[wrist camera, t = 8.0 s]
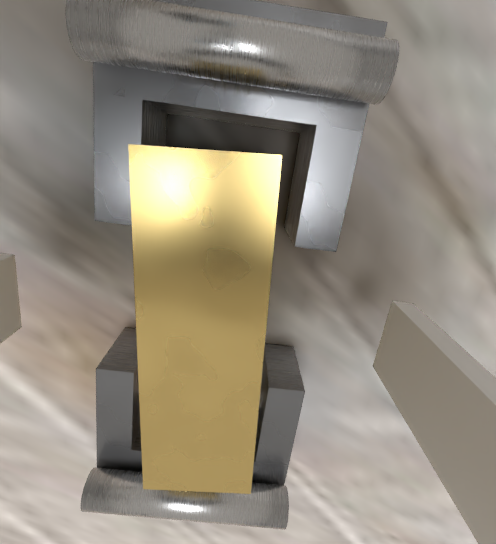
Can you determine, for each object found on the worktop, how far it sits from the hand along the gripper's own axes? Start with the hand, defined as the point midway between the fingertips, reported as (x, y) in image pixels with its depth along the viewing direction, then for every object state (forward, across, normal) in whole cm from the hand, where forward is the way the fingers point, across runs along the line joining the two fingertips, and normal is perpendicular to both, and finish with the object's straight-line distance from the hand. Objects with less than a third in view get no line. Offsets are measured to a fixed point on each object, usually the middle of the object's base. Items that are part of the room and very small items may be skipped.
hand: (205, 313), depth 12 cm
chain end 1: (+4, 0, +6) cm, 7 cm away
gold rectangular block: (+4, 0, -1) cm, 4 cm away
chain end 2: (+4, 0, -7) cm, 8 cm away
